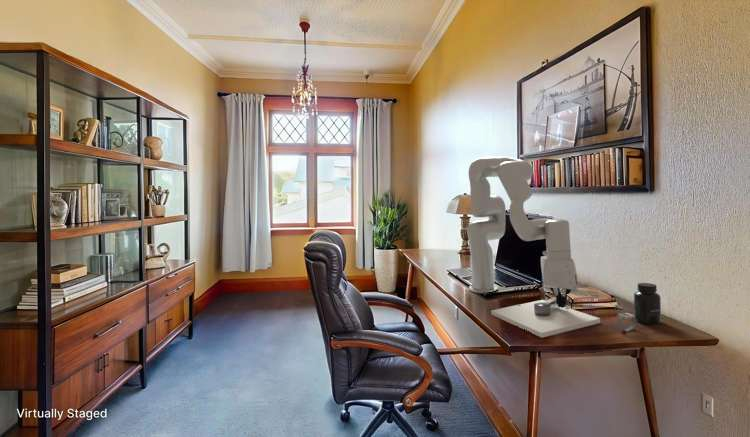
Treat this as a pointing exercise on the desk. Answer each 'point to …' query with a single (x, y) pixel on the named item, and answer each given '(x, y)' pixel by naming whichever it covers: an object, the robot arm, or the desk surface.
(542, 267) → the drinking glass
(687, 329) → the desk surface
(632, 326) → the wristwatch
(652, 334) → the desk surface
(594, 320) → the dial plate
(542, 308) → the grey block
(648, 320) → the supplement bottle
